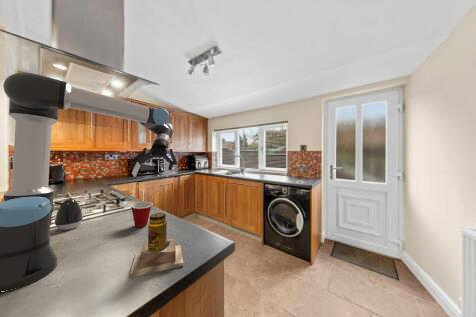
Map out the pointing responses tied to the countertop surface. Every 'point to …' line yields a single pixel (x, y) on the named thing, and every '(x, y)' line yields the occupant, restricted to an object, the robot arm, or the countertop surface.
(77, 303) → the countertop surface
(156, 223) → the condiment
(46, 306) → the countertop surface
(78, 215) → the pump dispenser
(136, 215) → the plastic cup
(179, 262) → the base board
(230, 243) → the countertop surface
